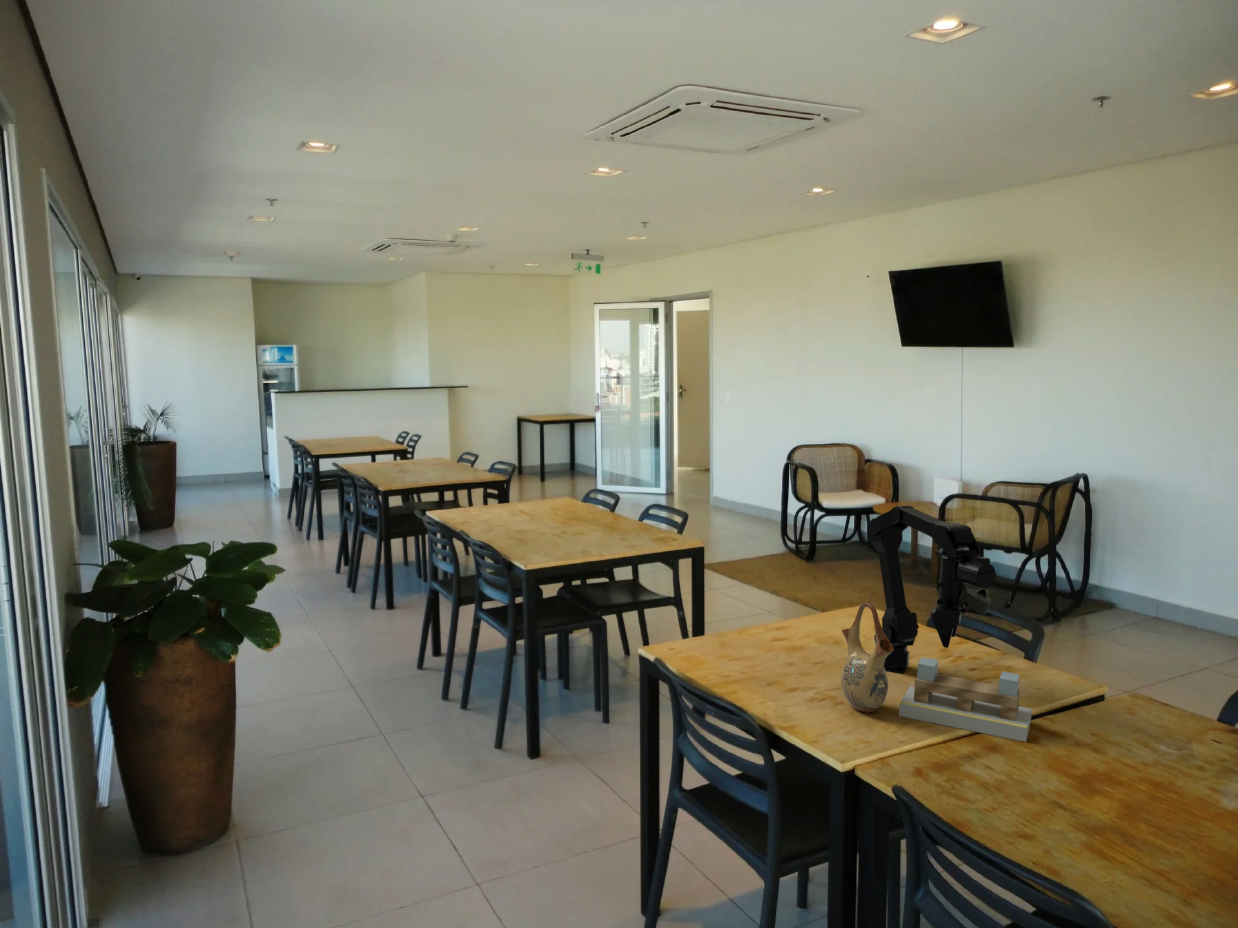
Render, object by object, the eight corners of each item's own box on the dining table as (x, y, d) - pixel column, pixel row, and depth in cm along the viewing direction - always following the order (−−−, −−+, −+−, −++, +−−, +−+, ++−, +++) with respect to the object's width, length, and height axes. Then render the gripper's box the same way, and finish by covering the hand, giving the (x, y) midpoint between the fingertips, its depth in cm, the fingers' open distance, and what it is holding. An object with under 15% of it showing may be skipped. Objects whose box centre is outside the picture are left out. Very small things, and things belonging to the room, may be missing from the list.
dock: (899, 715, 196) (899, 702, 195) (909, 698, 206) (910, 685, 206) (1026, 741, 183) (1027, 727, 182) (1030, 721, 193) (1031, 708, 193)
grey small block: (917, 678, 196) (918, 663, 196) (921, 671, 201) (922, 657, 200) (933, 681, 195) (934, 666, 194) (937, 674, 199) (938, 659, 199)
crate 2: (998, 693, 188) (999, 678, 188) (1001, 686, 192) (1002, 671, 192) (1016, 697, 186) (1017, 681, 186) (1018, 689, 191) (1019, 674, 190)
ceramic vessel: (825, 698, 205) (829, 594, 202) (856, 693, 209) (861, 591, 206) (870, 725, 190) (875, 614, 187) (903, 719, 194) (909, 610, 191)
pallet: (913, 701, 196) (914, 679, 196) (919, 691, 202) (920, 670, 201) (1015, 720, 186) (1016, 698, 186) (1018, 710, 192) (1019, 688, 191)
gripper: (984, 591, 193) (980, 659, 195) (994, 574, 209) (990, 637, 211) (932, 584, 199) (928, 650, 200) (945, 568, 215) (942, 629, 217)
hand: (949, 641), depth 207 cm, fingers open, 9 cm apart
